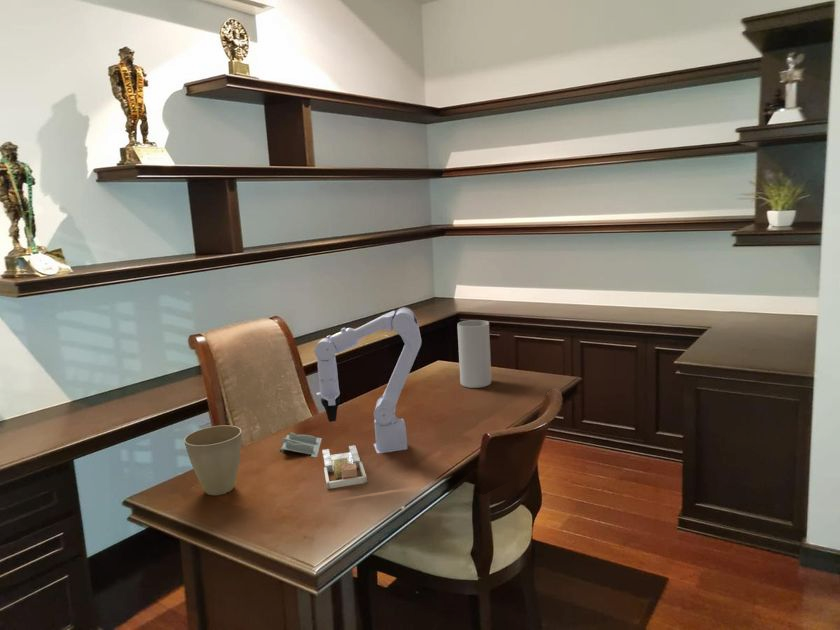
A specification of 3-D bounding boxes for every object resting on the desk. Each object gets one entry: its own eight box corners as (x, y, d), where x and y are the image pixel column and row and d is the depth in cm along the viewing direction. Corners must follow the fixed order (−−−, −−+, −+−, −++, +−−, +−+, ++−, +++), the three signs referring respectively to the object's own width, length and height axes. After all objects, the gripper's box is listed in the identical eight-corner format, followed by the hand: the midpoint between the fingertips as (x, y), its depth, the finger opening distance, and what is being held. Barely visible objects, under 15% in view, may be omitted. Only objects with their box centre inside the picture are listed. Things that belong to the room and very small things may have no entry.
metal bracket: (278, 444, 186) (286, 426, 201) (275, 462, 187) (283, 443, 202) (326, 453, 188) (330, 435, 202) (322, 471, 189) (326, 451, 203)
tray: (362, 469, 179) (361, 461, 178) (367, 484, 169) (366, 477, 168) (324, 474, 177) (323, 467, 176) (327, 490, 167) (326, 483, 166)
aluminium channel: (355, 453, 190) (355, 445, 190) (360, 469, 179) (360, 460, 178) (323, 457, 188) (322, 449, 188) (325, 474, 177) (325, 465, 176)
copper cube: (357, 476, 173) (355, 462, 172) (357, 482, 169) (356, 468, 168) (342, 477, 173) (341, 464, 172) (342, 484, 169) (341, 470, 168)
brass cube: (348, 470, 177) (346, 457, 176) (349, 476, 173) (348, 463, 172) (334, 473, 176) (332, 459, 175) (335, 478, 172) (334, 465, 172)
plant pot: (258, 487, 171) (251, 432, 168) (207, 508, 161) (199, 450, 158) (231, 472, 182) (225, 420, 179) (182, 491, 172) (174, 436, 169)
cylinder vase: (458, 380, 257) (454, 321, 252) (487, 378, 258) (485, 319, 253) (463, 389, 245) (460, 327, 240) (494, 386, 246) (492, 325, 241)
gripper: (313, 373, 194) (317, 414, 197) (316, 386, 181) (320, 430, 183) (336, 370, 196) (340, 411, 199) (340, 383, 182) (344, 427, 185)
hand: (332, 420), depth 191 cm, fingers closed
